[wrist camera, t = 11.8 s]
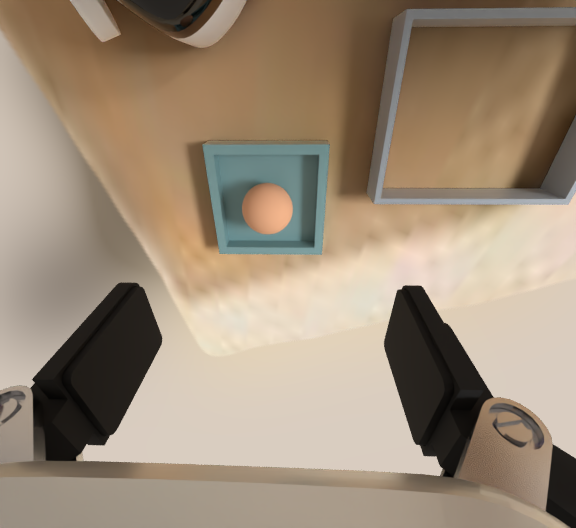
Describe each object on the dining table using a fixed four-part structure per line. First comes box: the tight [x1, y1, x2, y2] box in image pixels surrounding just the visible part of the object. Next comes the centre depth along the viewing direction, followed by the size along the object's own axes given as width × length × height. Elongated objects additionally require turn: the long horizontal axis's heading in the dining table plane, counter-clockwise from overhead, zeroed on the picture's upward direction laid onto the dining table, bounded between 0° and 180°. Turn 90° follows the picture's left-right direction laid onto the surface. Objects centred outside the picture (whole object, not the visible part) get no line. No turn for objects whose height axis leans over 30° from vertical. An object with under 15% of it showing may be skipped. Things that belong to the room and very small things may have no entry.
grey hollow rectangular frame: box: [367, 7, 576, 205], centre depth 22 cm, size 17×13×3 cm
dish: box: [202, 140, 330, 255], centre depth 27 cm, size 11×11×2 cm
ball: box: [242, 183, 293, 234], centre depth 25 cm, size 5×5×5 cm
